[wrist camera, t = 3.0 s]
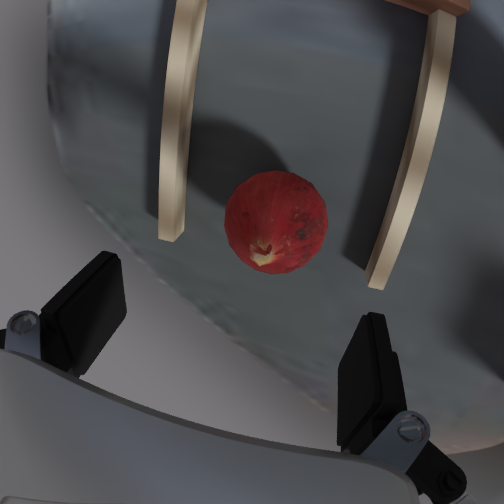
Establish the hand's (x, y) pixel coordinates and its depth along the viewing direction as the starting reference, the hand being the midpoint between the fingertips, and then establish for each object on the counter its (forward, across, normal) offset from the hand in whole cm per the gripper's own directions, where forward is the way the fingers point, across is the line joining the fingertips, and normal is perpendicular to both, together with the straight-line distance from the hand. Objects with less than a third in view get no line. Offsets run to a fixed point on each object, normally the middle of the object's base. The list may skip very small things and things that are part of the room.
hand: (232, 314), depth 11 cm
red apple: (+12, -1, 0) cm, 12 cm away
